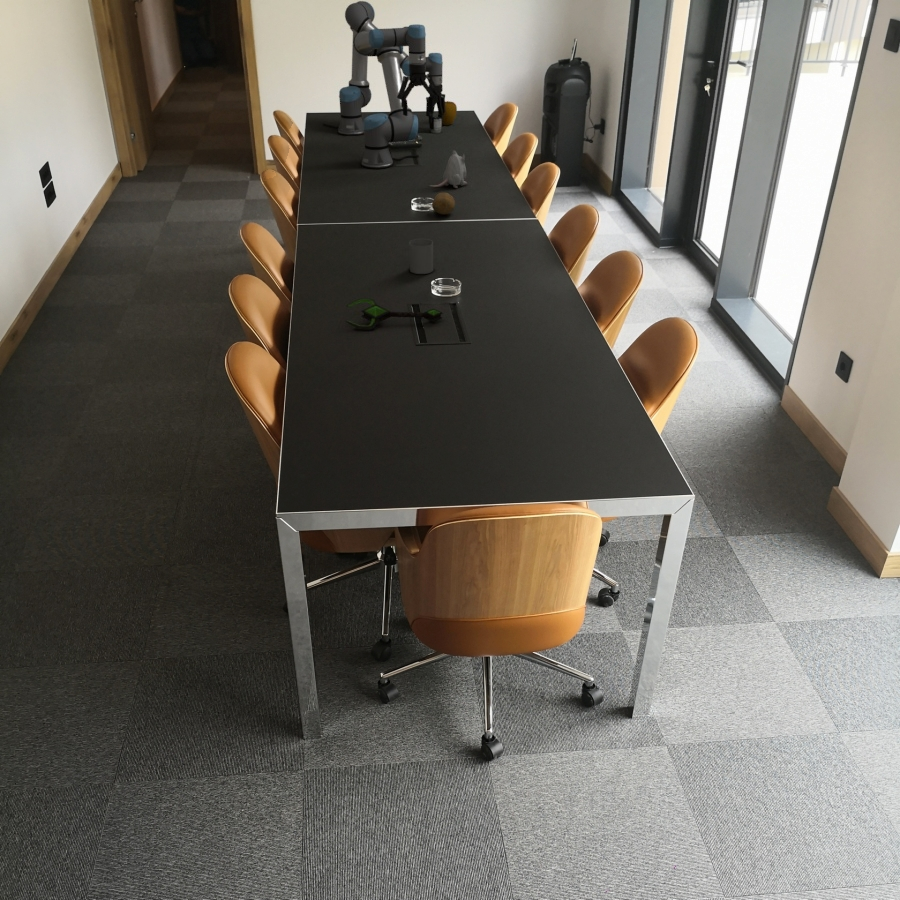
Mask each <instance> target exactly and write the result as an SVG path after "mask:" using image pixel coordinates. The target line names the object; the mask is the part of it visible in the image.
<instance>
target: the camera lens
mask: <svg viewBox="0 0 900 900" xmlns="http://www.w3.org/2000/svg"><path fill="white" fill-rule="evenodd" d="M433 117H434V129H430V133H432V134H441V132H442V127H441V118H440V117H438V116H433Z"/></svg>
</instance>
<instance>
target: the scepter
mask: <svg viewBox="0 0 900 900" xmlns="http://www.w3.org/2000/svg"><path fill="white" fill-rule="evenodd" d="M360 303H368V304H370V305H371V306H369V307H367V308H364V309H362V310H360V312H361V313H362V315H361V317H362V318H363V319H366V320H367V321H369V322H370V324H368V325H361V324H357V323H355V322H353V321H350V320H345V322H346V323H347V324H349V325H351V326H352V327H354V328H355V329H358V330H366V331H367V330H369V331H370V330H374V328H375V327H376V325H377V324H380V323H381V322H384V321H386V320H388V319H390V318H412V319H413V318H416V319H417V318H418V319H421V318H423V319H425V320H427V321H429V322H433V323H435V322H437V321H440V320H442V319H443V317H442V314H443V312H442V311H440V310H437V309H435V308H431V309H429V310H426V311H424V312H422V311H418V312H413V311H409V312H408V311H391V310H389V309H387V308H385V307H383V306H381V305H380V304H377V302H376V301H375V300H374V299H373V298H359V299H356V300H354V301H352V302H350V303H348V304H346V307H352V306H355V305H357V304H360Z"/></svg>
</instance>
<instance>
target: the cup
mask: <svg viewBox="0 0 900 900" xmlns="http://www.w3.org/2000/svg"><path fill="white" fill-rule="evenodd" d="M408 253H409V272H411V273H412V274H416V275H426V274H430V273H432V272H434V241H433V240H431V239H428V238H422V237H421V238H420V237H419V238H414V239H411V240H410V241H409V242H408Z"/></svg>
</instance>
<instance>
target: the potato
mask: <svg viewBox="0 0 900 900" xmlns="http://www.w3.org/2000/svg"><path fill="white" fill-rule="evenodd" d="M455 206H456V200H455V198H454V196H452V195H451V194H449V193H448V192H439V193H437V194H436V195H435V197H434V198H433V200H432V201H431V207H432V209H433V210H434V212H436V213H437V214H439V215H441V216H442V215H449V214H450V213H452V212H453V211H454V209H455Z"/></svg>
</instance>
